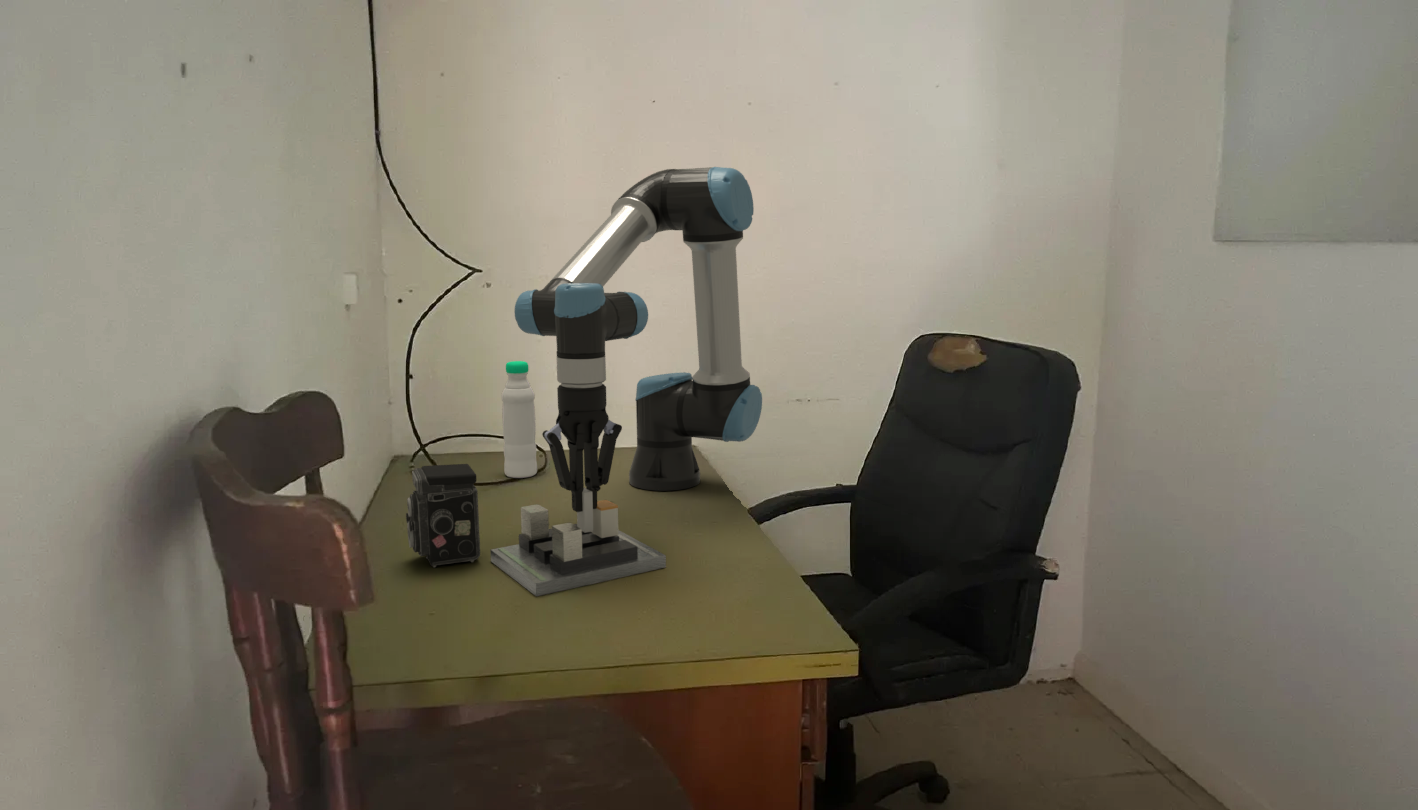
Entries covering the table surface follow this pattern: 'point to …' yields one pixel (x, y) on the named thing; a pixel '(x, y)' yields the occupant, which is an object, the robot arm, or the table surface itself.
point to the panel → (573, 577)
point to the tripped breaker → (605, 519)
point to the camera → (444, 514)
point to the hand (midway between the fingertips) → (585, 529)
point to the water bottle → (519, 422)
